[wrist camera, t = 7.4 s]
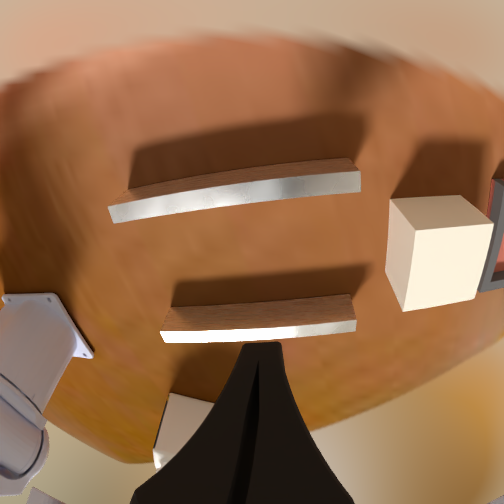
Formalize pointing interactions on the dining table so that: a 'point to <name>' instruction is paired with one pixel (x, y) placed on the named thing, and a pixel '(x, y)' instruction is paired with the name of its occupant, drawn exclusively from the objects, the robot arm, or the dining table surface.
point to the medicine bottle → (178, 426)
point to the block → (435, 250)
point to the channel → (240, 192)
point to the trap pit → (494, 241)
